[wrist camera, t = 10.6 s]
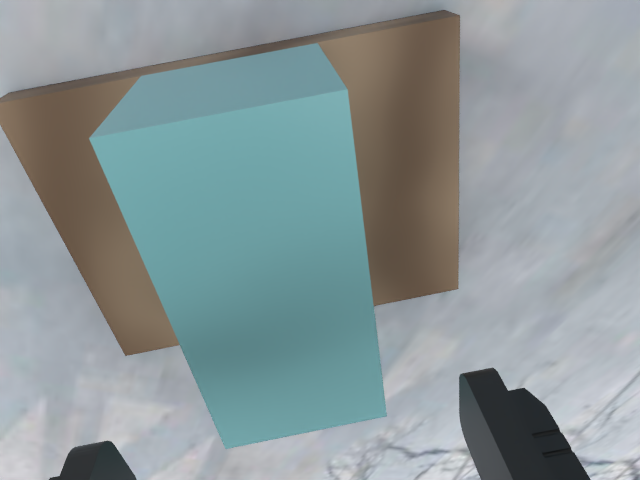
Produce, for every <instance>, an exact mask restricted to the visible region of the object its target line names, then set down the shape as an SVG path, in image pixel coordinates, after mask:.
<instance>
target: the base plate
mask: <svg viewBox="0 0 640 480" xmlns="http://www.w3.org/2000/svg"><path fill="white" fill-rule="evenodd" d="M314 43H318V44H319V46H320V48H321V49H322V51H323V52H324V54H325V55H326V57H327V58H328V60H329V61H330V63H331V64H332V66H333V68H334V69H335V71H336V72H337V74H338V75H339V77H340V78H341V80H342V81H343V83H344V84H345V86H346V88H347V89H348V97H349V105H350V113H351V122H352V130H353V138H354V147H355V155H356V163H357V172H358V180H359V188H360V197H361V205H362V214H363V222H364V230H365V239H366V247H367V255H368V264H369V272H370V280H371V289H372V297H373V305H374V306H376V305H381V304H386V303H391V302H396V301H401V300H406V299H411V298H416V297H421V296H426V295H431V294H436V293H441V292H446V291H451V290H456V289H458V244H459V61H460V15H457V14H454V13H452V12H449V11H446V10H442V11H437V12H432V13H426V14H421V15H416V16H411V17H405V18H400V19H395V20H390V21H384V22H379V23H374V24H369V25H363V26H358V27H353V28H347V29H342V30H337V31H332V32H326V33H321V34H316V35H311V36H305V37H300V38H295V39H290V40H284V41H279V42H274V43H269V44H263V45H258V46H253V47H247V48H242V49H237V50H232V51H226V52H221V53H216V54H211V55H205V56H200V57H195V58H190V59H184V60H179V61H174V62H169V63H163V64H158V65H153V66H147V67H142V68H137V69H132V70H126V71H121V72H116V73H111V74H105V75H100V76H95V77H90V78H84V79H79V80H74V81H69V82H63V83H58V84H53V85H47V86H42V87H37V88H32V89H26V90H21V91H16V92H11V93H8V94H6V95H5V96H3V97H2V98H0V125H1V127H2V129H3V130H4V132H5V134H6V136H7V138H8V140H9V142H10V143H11V145H12V147H13V149H14V151H15V153H16V154H17V156H18V158H19V160H20V162H21V164H22V166H23V167H24V169H25V171H26V173H27V175H28V177H29V178H30V180H31V182H32V184H33V186H34V188H35V190H36V191H37V193H38V195H39V197H40V199H41V201H42V202H43V204H44V206H45V208H46V210H47V212H48V214H49V215H50V217H51V219H52V221H53V223H54V225H55V226H56V228H57V230H58V232H59V234H60V236H61V238H62V239H63V241H64V243H65V245H66V247H67V249H68V250H69V252H70V254H71V256H72V258H73V260H74V262H75V263H76V265H77V267H78V269H79V271H80V273H81V274H82V276H83V278H84V280H85V282H86V284H87V286H88V287H89V289H90V291H91V293H92V295H93V297H94V299H95V300H96V302H97V304H98V306H99V308H100V310H101V311H102V313H103V315H104V317H105V319H106V321H107V323H108V324H109V326H110V328H111V330H112V332H113V334H114V335H115V337H116V339H117V341H118V343H119V345H120V347H121V348H122V350H123V352H124V354H125V356H127V355H132V354H137V353H142V352H147V351H152V350H157V349H162V348H167V347H172V346H177V345H180V344H179V342H178V339H177V337H176V335H175V333H174V330H173V328H172V326H171V324H170V321H169V319H168V317H167V314H166V312H165V310H164V308H163V305H162V303H161V301H160V299H159V296H158V294H157V292H156V289H155V287H154V285H153V283H152V280H151V278H150V276H149V274H148V271H147V269H146V267H145V264H144V262H143V260H142V258H141V255H140V253H139V251H138V249H137V246H136V244H135V242H134V239H133V237H132V235H131V233H130V230H129V228H128V226H127V224H126V221H125V219H124V217H123V214H122V212H121V210H120V208H119V205H118V203H117V201H116V199H115V196H114V194H113V192H112V189H111V187H110V185H109V183H108V180H107V178H106V176H105V174H104V171H103V169H102V167H101V165H100V162H99V160H98V158H97V155H96V153H95V151H94V149H93V146H92V144H91V142H90V140H89V138H90V137H91V135H92V134H93V133H94V132H95V131H96V129H97V128H98V127H99V126H100V125H101V123H102V122H103V121H104V120H105V119H106V117H107V116H108V115H109V114H110V113H111V111H112V110H113V109H114V108H115V107H116V105H117V104H118V103H119V102H120V101H121V99H122V98H123V97H124V96H125V95H126V93H127V92H128V91H129V90H130V89H131V87H132V86H133V85H134V84H135V83H136V82H137V80H138V79H139V78H140V77H141V76H144V75H149V74H154V73H160V72H165V71H170V70H176V69H181V68H186V67H192V66H197V65H202V64H208V63H213V62H218V61H224V60H229V59H234V58H240V57H245V56H250V55H256V54H261V53H266V52H272V51H277V50H282V49H288V48H293V47H298V46H304V45H309V44H314Z"/></svg>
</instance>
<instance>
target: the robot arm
mask: <svg viewBox="0 0 640 480" xmlns="http://www.w3.org/2000/svg"><path fill="white" fill-rule="evenodd" d="M459 414H460V422H461V427H462V431H463V435H464V438H465V441H466V443H467V446H468V448H469V451H470V453H471V456H472V458H473V461H474V463H475V466H476V468H477V471H478V473H479V476H480V478H481V480H590V478H589V476H588V475H587V473H586V471H585V470H584V468H583V466H582V465H581V463H580V462H579V460H578V458H577V457H576V455H575V453H574V452H572V450H571V447H570V445H569V443H568V442H567V440H566V438H565V437H564V435H563V434H562V433H561V432H560V430H559V427H558V425H557V424H556V422H555V420H554V419H553V417H552V415H551V414H550V412H549V411H548V409H547V407H546V406H545V405H544V404H543V403H542V402H541V401H539V400H538V399H537V398H536V397H535V396H533V395H532V394H531V393H530V392H529V391H527V390H526V389H525V388H521V389H516V390H511V391H508V390H507V388H506V386H505V385H504V383H503V381H502V379H501V377H500V375H499V374H498V372H497V371H496V370H495V369H494V368H489V369H484V370H478V371H473V372H468V373H463V374H460V377H459ZM49 480H136V477H135V475H134V474H133V472H132V471H131V469H130V468H129V466H128V465H127V463H126V462H125V460H124V459H123V457H122V456H121V454H120V453H119V451H118V450H117V448H116V447H115V445H114V444H113V443H112V442H111V441H104V442H99V443H94V444H88V445H83V446H78V447H75V448H73V449H72V450H71V451H70V452H69V454H68V456H67V458H66V461H65V463H64V466H63V469H62V471H61V474H60V476H58V477H53V478H50V479H49Z"/></svg>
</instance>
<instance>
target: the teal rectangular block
mask: <svg viewBox="0 0 640 480" xmlns="http://www.w3.org/2000/svg"><path fill="white" fill-rule="evenodd" d="M89 140H90V142H91V144H92V146H93V149H94V151H95V153H96V155H97V158H98V160H99V162H100V165H101V167H102V169H103V171H104V174H105V176H106V178H107V180H108V183H109V185H110V187H111V189H112V192H113V194H114V196H115V199H116V201H117V203H118V205H119V208H120V210H121V212H122V214H123V217H124V219H125V221H126V224H127V226H128V228H129V230H130V233H131V235H132V237H133V239H134V242H135V244H136V246H137V249H138V251H139V253H140V255H141V258H142V260H143V262H144V264H145V267H146V269H147V271H148V274H149V276H150V278H151V280H152V283H153V285H154V287H155V289H156V292H157V294H158V296H159V299H160V301H161V303H162V305H163V308H164V310H165V312H166V314H167V317H168V319H169V321H170V324H171V326H172V328H173V330H174V333H175V335H176V337H177V339H178V342H179V344H180V346H181V349H182V351H183V353H184V355H185V358H186V360H187V362H188V364H189V367H190V369H191V371H192V374H193V376H194V378H195V380H196V383H197V385H198V387H199V389H200V392H201V394H202V396H203V399H204V401H205V403H206V405H207V408H208V410H209V412H210V414H211V417H212V419H213V421H214V424H215V426H216V428H217V430H218V433H219V435H220V437H221V439H222V442H223V444H224V446H225V449H228V448H233V447H238V446H243V445H248V444H253V443H258V442H262V441H267V440H272V439H277V438H282V437H287V436H292V435H297V434H302V433H307V432H312V431H316V430H321V429H326V428H331V427H336V426H341V425H346V424H351V423H356V422H361V421H366V420H370V419H375V418H380V417H385V416H387V414H386V405H385V397H384V389H383V380H382V372H381V364H380V355H379V347H378V339H377V330H376V322H375V314H374V305H373V297H372V289H371V280H370V272H369V264H368V255H367V247H366V239H365V230H364V222H363V214H362V205H361V197H360V188H359V180H358V172H357V163H356V155H355V147H354V138H353V130H352V122H351V113H350V105H349V97H348V89H347V88H346V86H345V84H344V83H343V81H342V80H341V78H340V77H339V75H338V74H337V72H336V71H335V69H334V68H333V66H332V64H331V63H330V61H329V60H328V58H327V57H326V55H325V54H324V52H323V51H322V49H321V48H320V46H319V44H318V43H314V44H309V45H304V46H298V47H293V48H288V49H282V50H277V51H272V52H266V53H261V54H256V55H250V56H245V57H240V58H234V59H229V60H224V61H218V62H213V63H208V64H202V65H197V66H192V67H186V68H181V69H176V70H170V71H165V72H160V73H154V74H149V75H144V76H141V77H140V78H139V79H138V80H137V82H136V83H135V84H134V85H133V86H132V87H131V89H130V90H129V91H128V92H127V93H126V95H125V96H124V97H123V98H122V99H121V101H120V102H119V103H118V104H117V105H116V107H115V108H114V109H113V110H112V111H111V113H110V114H109V115H108V116H107V117H106V119H105V120H104V121H103V122H102V123H101V125H100V126H99V127H98V128H97V129H96V131H95V132H94V133H93V134H92V135H91V137H90V138H89Z"/></svg>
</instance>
